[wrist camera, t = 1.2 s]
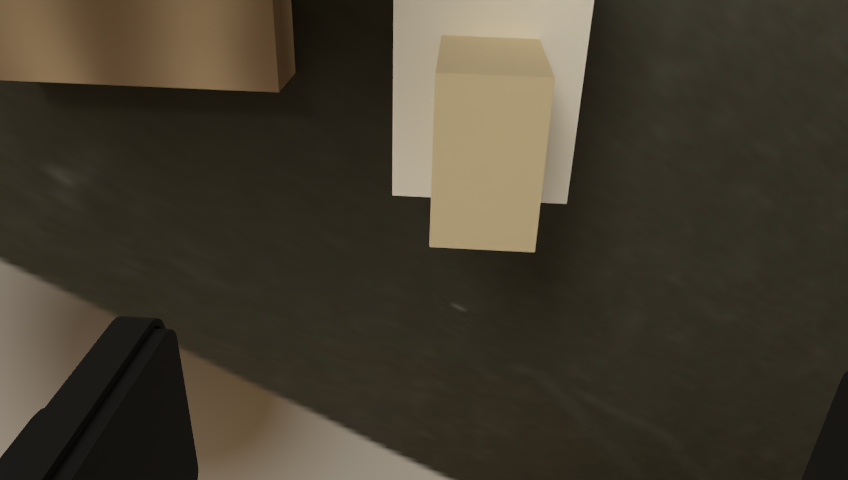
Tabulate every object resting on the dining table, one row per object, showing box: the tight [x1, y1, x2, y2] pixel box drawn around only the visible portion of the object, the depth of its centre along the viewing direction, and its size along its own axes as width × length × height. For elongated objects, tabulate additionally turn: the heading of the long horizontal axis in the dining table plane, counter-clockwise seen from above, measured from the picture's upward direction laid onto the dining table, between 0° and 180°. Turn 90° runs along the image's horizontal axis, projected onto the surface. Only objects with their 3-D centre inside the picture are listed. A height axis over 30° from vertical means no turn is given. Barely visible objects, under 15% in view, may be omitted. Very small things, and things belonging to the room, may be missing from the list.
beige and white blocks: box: [392, 0, 594, 252], centre depth 23 cm, size 6×10×12 cm, turn 178°
